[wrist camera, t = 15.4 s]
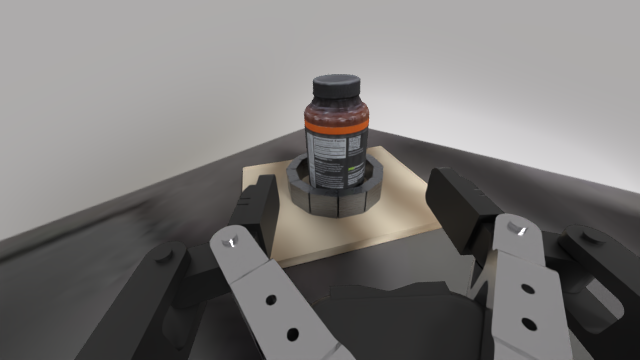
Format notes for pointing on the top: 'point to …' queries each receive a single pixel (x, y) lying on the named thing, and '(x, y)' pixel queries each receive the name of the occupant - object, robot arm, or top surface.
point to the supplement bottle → (336, 133)
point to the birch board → (354, 231)
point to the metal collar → (334, 191)
